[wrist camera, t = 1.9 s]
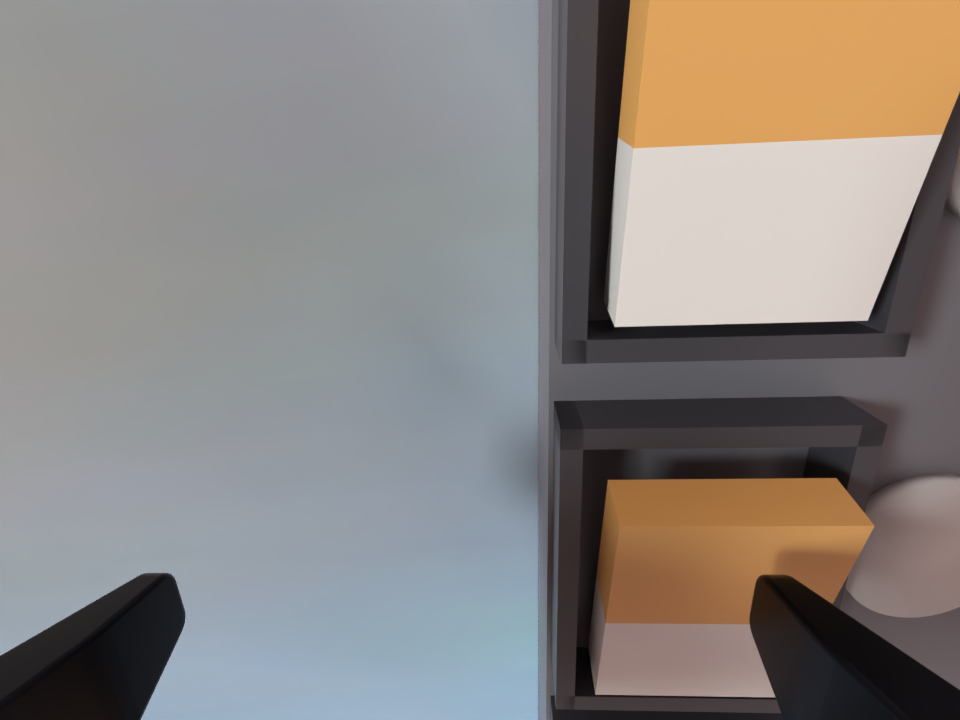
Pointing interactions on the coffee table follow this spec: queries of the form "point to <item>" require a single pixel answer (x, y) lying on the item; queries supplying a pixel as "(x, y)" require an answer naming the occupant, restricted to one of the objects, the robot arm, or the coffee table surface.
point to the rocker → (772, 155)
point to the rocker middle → (708, 576)
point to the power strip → (733, 396)
